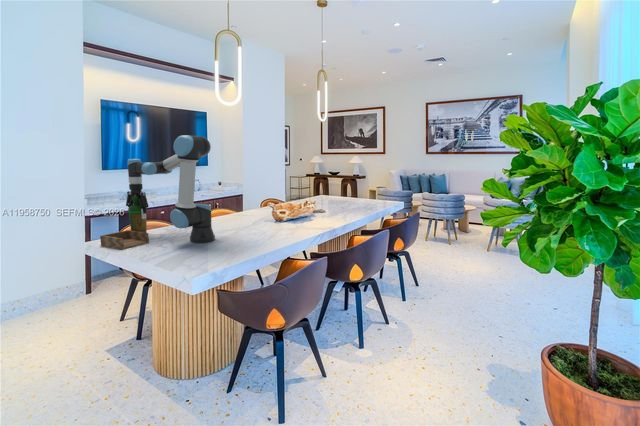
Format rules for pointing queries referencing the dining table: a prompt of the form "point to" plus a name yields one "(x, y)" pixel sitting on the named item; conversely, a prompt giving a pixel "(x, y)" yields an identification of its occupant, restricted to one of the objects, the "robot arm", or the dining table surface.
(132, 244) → the tray
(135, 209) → the bottle
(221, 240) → the dining table surface
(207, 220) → the robot arm
